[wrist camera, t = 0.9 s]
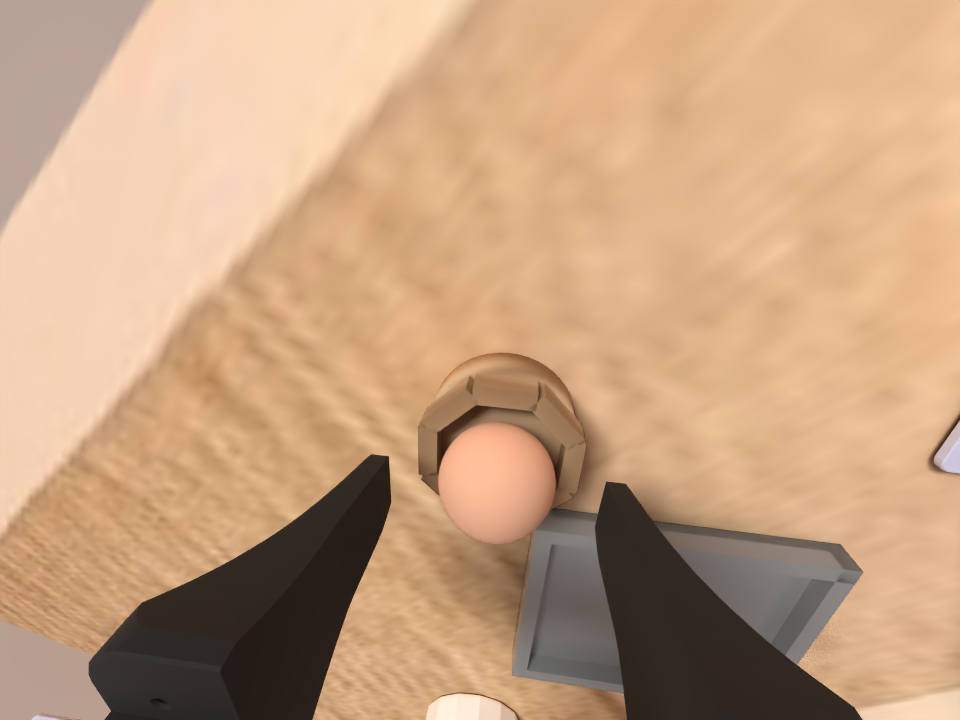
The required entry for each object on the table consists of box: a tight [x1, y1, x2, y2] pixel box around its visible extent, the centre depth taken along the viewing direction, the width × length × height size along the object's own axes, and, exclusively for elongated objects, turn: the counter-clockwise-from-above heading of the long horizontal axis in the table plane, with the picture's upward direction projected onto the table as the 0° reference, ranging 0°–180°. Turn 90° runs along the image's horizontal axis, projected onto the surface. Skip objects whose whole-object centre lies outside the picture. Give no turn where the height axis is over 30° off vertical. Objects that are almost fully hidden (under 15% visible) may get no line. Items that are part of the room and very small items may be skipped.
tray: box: [512, 509, 863, 693], centre depth 21 cm, size 14×12×1 cm
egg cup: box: [418, 353, 586, 510], centre depth 16 cm, size 6×6×3 cm
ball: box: [438, 421, 556, 544], centre depth 14 cm, size 4×4×4 cm
